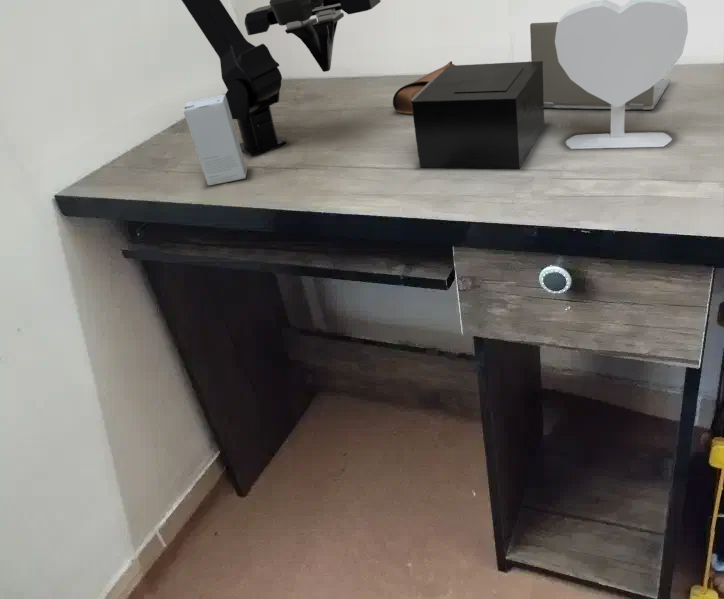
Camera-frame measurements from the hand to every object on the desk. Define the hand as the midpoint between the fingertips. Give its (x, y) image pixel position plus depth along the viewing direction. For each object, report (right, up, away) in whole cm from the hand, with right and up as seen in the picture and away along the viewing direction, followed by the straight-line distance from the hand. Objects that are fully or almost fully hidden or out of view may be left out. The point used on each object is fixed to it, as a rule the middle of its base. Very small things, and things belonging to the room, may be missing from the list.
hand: (326, 70), depth 105 cm
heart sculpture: (+40, -12, -7) cm, 42 cm away
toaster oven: (+23, -11, -1) cm, 25 cm away
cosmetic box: (-15, -15, +5) cm, 22 cm away
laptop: (+43, -1, +9) cm, 44 cm away
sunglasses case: (+19, +2, +22) cm, 29 cm away
